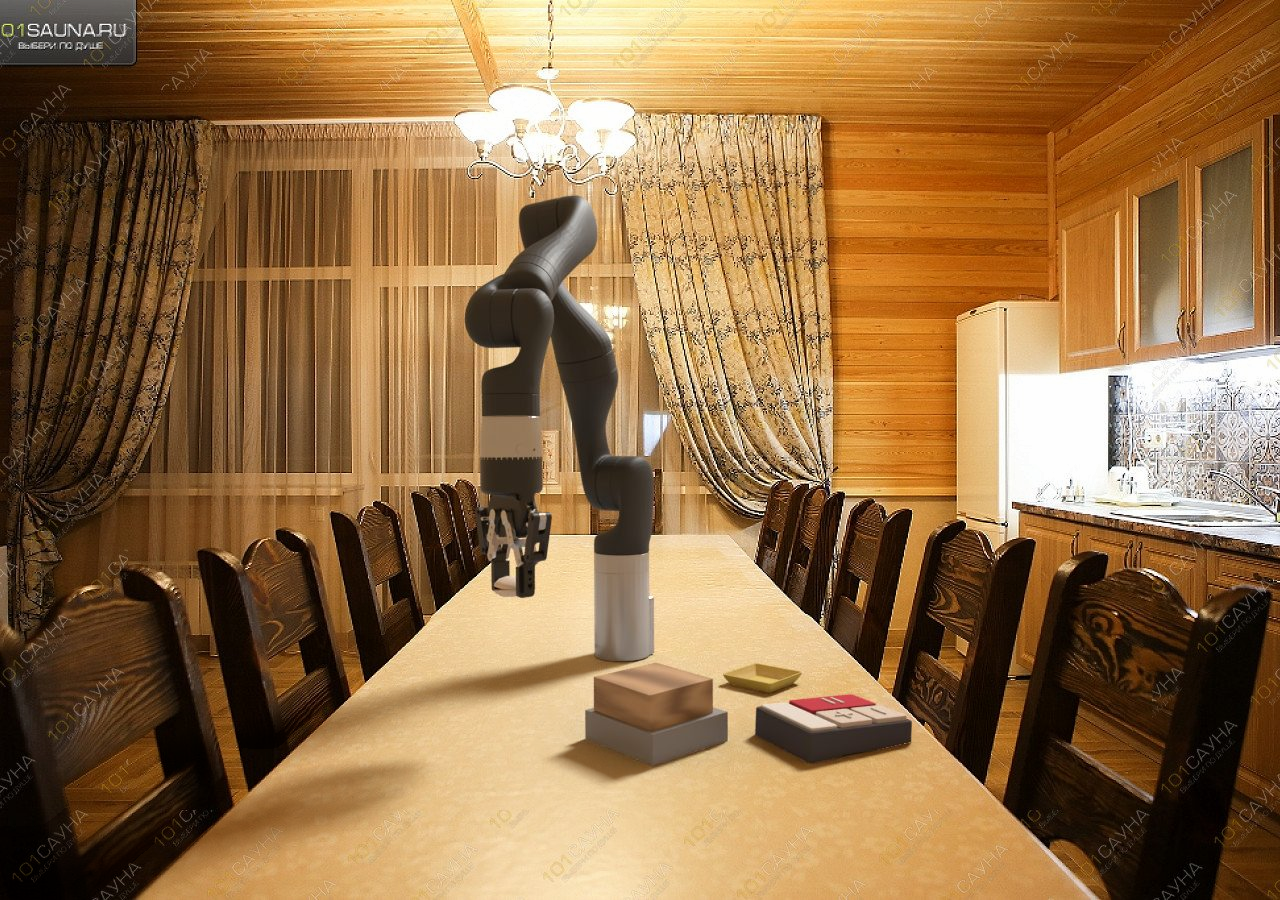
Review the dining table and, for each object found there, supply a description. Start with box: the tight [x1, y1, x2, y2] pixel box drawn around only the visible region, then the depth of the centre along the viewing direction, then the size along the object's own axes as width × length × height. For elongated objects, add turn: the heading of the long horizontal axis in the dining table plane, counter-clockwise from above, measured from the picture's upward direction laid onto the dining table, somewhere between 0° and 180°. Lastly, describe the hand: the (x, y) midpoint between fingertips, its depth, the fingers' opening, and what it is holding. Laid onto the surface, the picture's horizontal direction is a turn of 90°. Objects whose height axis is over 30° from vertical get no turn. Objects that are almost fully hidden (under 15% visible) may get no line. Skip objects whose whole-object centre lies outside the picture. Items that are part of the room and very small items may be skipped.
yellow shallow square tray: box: [722, 663, 803, 694], centre depth 126 cm, size 9×9×2 cm
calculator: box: [754, 693, 913, 764], centre depth 103 cm, size 11×4×15 cm
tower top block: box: [593, 662, 714, 731], centre depth 102 cm, size 10×10×4 cm
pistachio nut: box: [493, 575, 517, 598], centre depth 105 cm, size 4×5×2 cm
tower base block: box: [584, 706, 729, 767], centre depth 103 cm, size 12×12×4 cm
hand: (512, 593), depth 105 cm, fingers closed on pistachio nut, 5 cm apart
